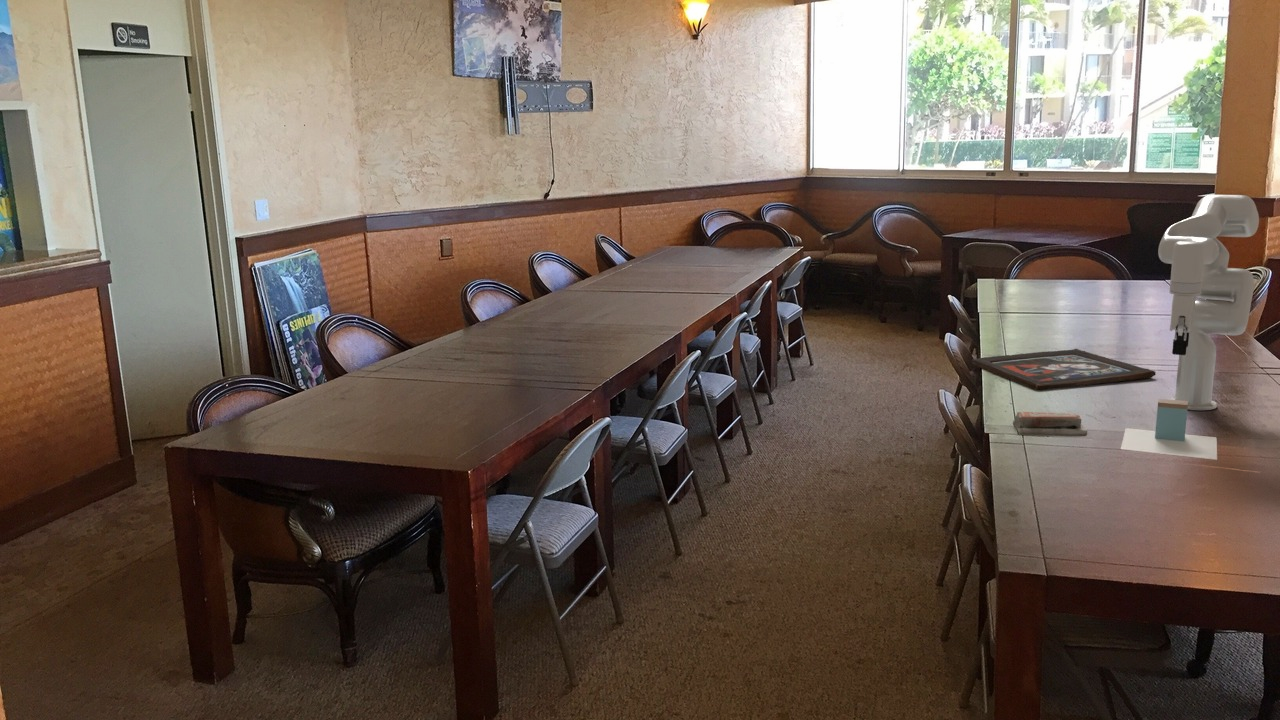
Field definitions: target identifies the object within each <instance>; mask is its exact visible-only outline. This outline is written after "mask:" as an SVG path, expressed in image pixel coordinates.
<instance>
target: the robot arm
mask: <svg viewBox="0 0 1280 720" xmlns="http://www.w3.org/2000/svg"><path fill="white" fill-rule="evenodd" d="M1257 209H1258V208H1257V205H1256V203H1255V201H1254V200H1253V199H1252V198H1251V197H1250V196H1248V195H1244V194H1242V195H1241V194H1208V195H1206V196H1204V197H1202V198H1201V199H1200V200H1199V201H1197V204H1196V206H1195V208H1194V210H1193V212H1192V215H1191V216H1190V217H1188V218H1186V219H1183V220H1181V221H1178V222H1176V223H1174V224H1172V225H1170V226H1169V227H1167V229H1166V230H1165V231H1164V233H1163V235H1162V237H1161V240H1160V242H1159V245H1158V251H1157V252H1158V253H1157V255H1158V259H1159V260H1160V261H1161V262H1163V263H1164V264H1170V265H1171V271H1170V283H1169V294H1171V295H1173V296H1172V303H1171V311H1170V313H1171V314H1170V320H1169V321H1170V323H1169V324H1170V325H1169V331H1170V332H1173V331H1174V337H1173V338H1174V339H1172V341H1173V342H1172V351H1171V353H1172V355H1175V356H1176V355H1177V356H1178V360H1177V361H1178V362H1177V371H1176V383H1175V393H1174V396H1172V397H1169V398H1168V400H1179V401H1188V409H1187V411H1188V410H1190V411H1210V410H1211V411H1212V410H1214V409H1216V408H1217V406H1218V403H1217V402H1216V401H1215V400H1212V399H1213V398H1212V396H1213V387H1214V376H1215V366H1216V360H1217V359H1216V357H1217V347H1216V344H1215V342H1214V341H1213V339H1212V338H1211V336H1210V335H1212V334H1214V335H1223V336H1239V335H1242V334H1244V333H1245V332H1246V329H1247V327H1248V323H1249V319H1250V311H1251V307H1252V306H1251V305H1252V300H1253V294H1254V287H1255V279H1254V275H1253V273H1252V272H1251V271H1250V270H1247V269H1245V268H1239V267H1238V268H1237V267H1236V268H1235V267H1228V266H1229V260H1230V252H1229V251H1228V249H1227V247H1226V246H1225V245H1224V244H1223V242H1221V241H1220V240H1219V239H1218V238H1217V237H1227V238H1228V237H1230V238H1249V237H1252V236H1254V235H1255V234H1256V233H1257V231H1258V228H1259V224H1260V216H1259V212H1258V210H1257ZM1196 298H1199V299H1196ZM1209 334H1210V335H1209Z"/></svg>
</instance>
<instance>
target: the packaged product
mask: <svg viewBox="0 0 1280 720" xmlns="http://www.w3.org/2000/svg"><path fill="white" fill-rule="evenodd" d="M1012 423H1013V425H1014V427H1015V428H1016V430H1017V432H1018V433H1019V434H1034V435H1035V434H1040V435H1044V434H1045V435H1079V436H1080V435H1087V434H1088V429H1086V428H1085V427H1084V426H1083V425H1082V418H1081V417H1080V415H1079V414H1076V413H1069V412H1068V413H1065V412H1063V413H1062V412H1058V413H1057V412H1039V411H1038V412H1037V411H1035V412H1033V411H1017V413H1016V415H1015V417H1014V420H1012Z"/></svg>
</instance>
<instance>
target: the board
mask: <svg viewBox="0 0 1280 720" xmlns="http://www.w3.org/2000/svg"><path fill="white" fill-rule="evenodd" d="M1155 431H1156V430H1147V429H1138V428H1137V429H1136V428H1128V427H1126V428H1125V429H1124V434H1123V438H1122V442H1121V446H1120V450H1123V451H1124V450H1125V451H1134V452H1140V453H1141V452H1142V453H1151V454H1158V455H1159V454H1161V455H1168V456H1169V455H1171V456H1178V457H1179V456H1180V457H1187V458H1188V457H1189V458H1196V459H1204V460H1205V459H1206V460H1215V461H1217V460H1218V449H1217V448H1218V442H1217V441H1218V440H1217V437H1216V436H1204V435H1197V434H1187V433H1185V440H1184V441H1175V440H1165V439H1156V438H1155Z"/></svg>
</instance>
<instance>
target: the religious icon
mask: <svg viewBox="0 0 1280 720" xmlns="http://www.w3.org/2000/svg"><path fill="white" fill-rule="evenodd" d="M971 364H972V365H974V366H976V367H978V368H981V369H983V370H985V371H988V372H990V373H992V374H995V375H998V376H1001V377H1003V378H1006V379H1008V380H1010V381H1013V382H1015V383H1018V384H1020V385H1022V386H1023V387H1024V386H1025V387H1026V388H1027V387H1028V388H1029V389H1031V390H1035V391H1046V390H1056V389H1057V390H1058V389H1066V388H1072V387H1073V388H1076V387H1084V386H1089V385H1098V384H1106V383H1107V384H1109V383H1115V382H1126V381H1133V380H1134V381H1135V380H1142V379H1143V380H1145V379H1151V378H1153V377H1155V376H1156V371H1155V370H1151V369H1150V368H1146V367H1145V368H1144V367H1140V366H1137V365H1133V364H1131V363H1127V362H1124V361H1123V362H1122V361H1120V360H1115V359H1112V358H1110V357H1109V358H1108V357H1105V356H1101V355H1098V354H1094V353H1092V352H1087V351H1085V350H1081V349H1079V348H1074V349H1064V350H1062V349H1061V350H1060V349H1059V350H1053V351H1039V352H1037V351H1036V352H1027V353H1017V354H1010V355H1009V354H1008V355H996V356H985V357H979V358H974V359H971Z"/></svg>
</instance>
